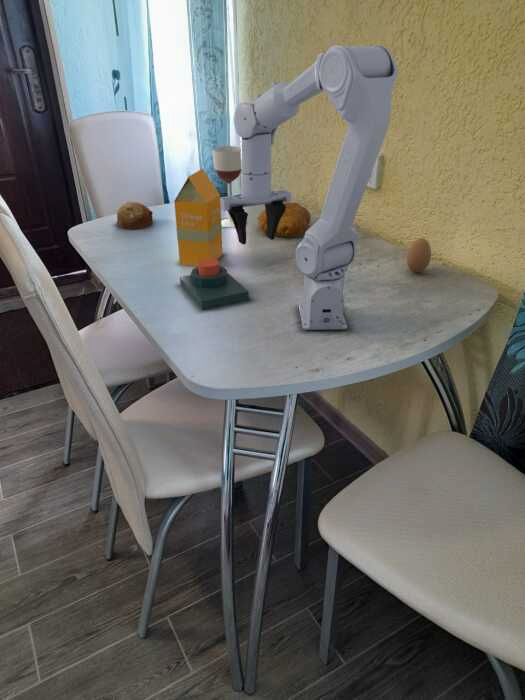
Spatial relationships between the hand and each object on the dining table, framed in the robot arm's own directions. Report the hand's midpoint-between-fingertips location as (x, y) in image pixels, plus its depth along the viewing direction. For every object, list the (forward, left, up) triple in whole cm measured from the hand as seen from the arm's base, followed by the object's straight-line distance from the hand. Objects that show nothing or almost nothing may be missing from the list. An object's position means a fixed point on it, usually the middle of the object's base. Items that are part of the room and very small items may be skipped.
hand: (256, 240), depth 104 cm
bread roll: (+42, +34, -10) cm, 55 cm away
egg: (+5, -36, -10) cm, 38 cm away
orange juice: (+14, +13, -10) cm, 21 cm away
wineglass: (+42, +7, -10) cm, 44 cm away
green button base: (-5, +9, -9) cm, 14 cm away
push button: (-3, +10, -6) cm, 12 cm away
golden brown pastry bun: (+36, -8, -10) cm, 38 cm away
